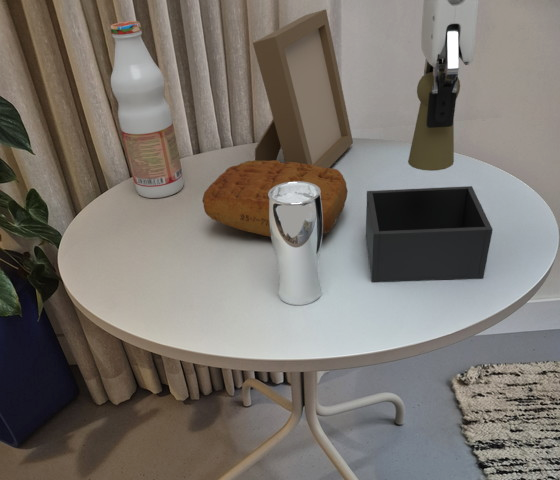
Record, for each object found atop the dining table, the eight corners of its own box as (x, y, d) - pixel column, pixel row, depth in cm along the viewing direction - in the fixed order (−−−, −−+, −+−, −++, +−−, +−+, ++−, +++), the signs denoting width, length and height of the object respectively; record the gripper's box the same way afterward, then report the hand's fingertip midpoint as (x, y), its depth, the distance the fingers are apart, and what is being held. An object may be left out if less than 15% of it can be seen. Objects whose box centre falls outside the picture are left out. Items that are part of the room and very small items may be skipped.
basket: (464, 232, 91) (472, 185, 86) (483, 278, 81) (492, 229, 76) (365, 236, 92) (366, 190, 87) (371, 282, 82) (373, 234, 77)
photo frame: (353, 147, 121) (354, 9, 104) (312, 190, 106) (307, 37, 90) (289, 141, 126) (281, 8, 110) (242, 181, 112) (225, 35, 95)
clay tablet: (199, 238, 95) (191, 192, 90) (240, 195, 107) (234, 151, 102) (326, 254, 89) (325, 205, 83) (355, 205, 100) (356, 160, 95)
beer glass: (318, 276, 84) (315, 177, 74) (329, 302, 79) (328, 199, 69) (271, 283, 83) (262, 184, 74) (280, 310, 78) (271, 208, 68)
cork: (398, 163, 78) (404, 75, 71) (426, 150, 81) (434, 64, 74) (435, 174, 75) (445, 83, 68) (462, 160, 78) (475, 71, 70)
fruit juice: (149, 204, 107) (108, 33, 88) (128, 188, 113) (87, 25, 95) (193, 189, 111) (163, 21, 92) (171, 174, 117) (139, 15, 98)
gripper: (508, -50, 56) (479, 141, 68) (473, -66, 68) (453, 96, 80) (430, -44, 56) (414, 144, 68) (409, -61, 69) (399, 99, 81)
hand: (435, 117), depth 74 cm, fingers closed on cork, 5 cm apart
